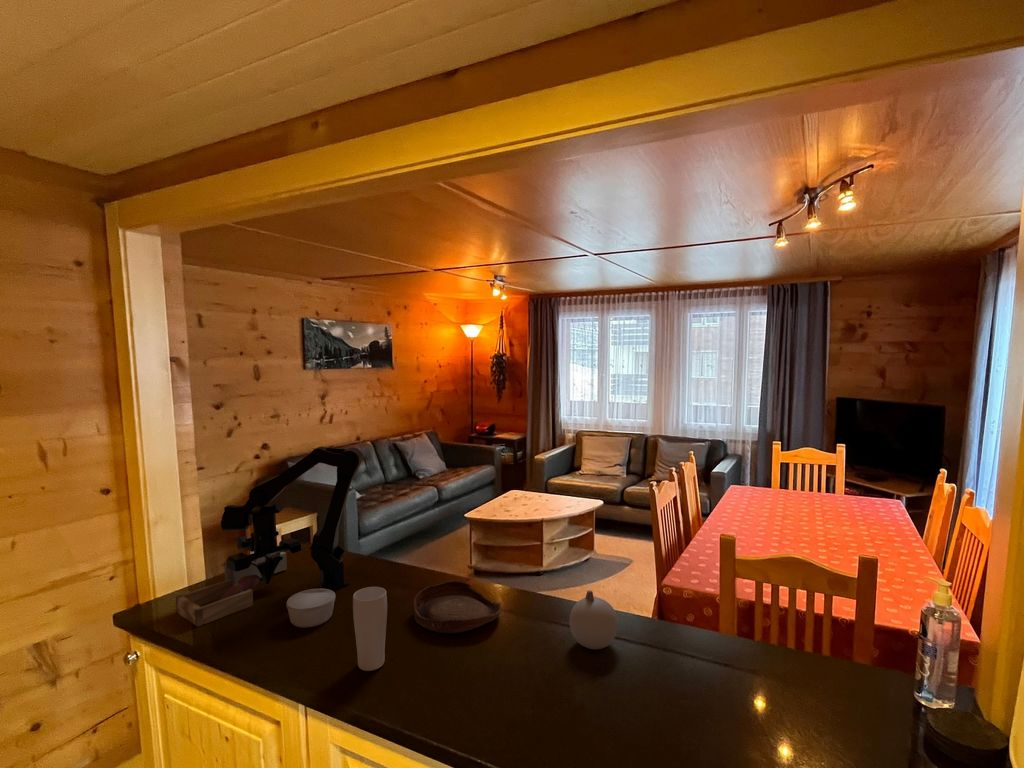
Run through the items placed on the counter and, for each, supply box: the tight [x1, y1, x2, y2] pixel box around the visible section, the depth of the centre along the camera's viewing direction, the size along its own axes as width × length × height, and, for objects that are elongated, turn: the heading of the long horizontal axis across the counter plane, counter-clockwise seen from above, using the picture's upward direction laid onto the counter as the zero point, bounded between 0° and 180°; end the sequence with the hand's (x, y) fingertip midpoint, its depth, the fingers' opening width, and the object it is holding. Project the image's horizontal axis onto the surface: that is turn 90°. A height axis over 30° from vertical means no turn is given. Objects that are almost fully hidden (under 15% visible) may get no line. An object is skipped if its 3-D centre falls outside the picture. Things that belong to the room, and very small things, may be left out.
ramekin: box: [285, 588, 336, 629], centre depth 125 cm, size 11×11×5 cm
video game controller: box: [219, 573, 261, 600], centre depth 137 cm, size 10×5×7 cm, turn 170°
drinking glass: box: [352, 586, 388, 672], centre depth 105 cm, size 7×7×15 cm
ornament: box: [568, 589, 619, 650], centre depth 111 cm, size 10×10×12 cm
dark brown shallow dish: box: [412, 580, 503, 634], centre depth 125 cm, size 22×20×5 cm
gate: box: [223, 551, 288, 586], centre depth 148 cm, size 17×3×6 cm, turn 144°
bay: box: [175, 579, 254, 627], centre depth 131 cm, size 12×13×4 cm
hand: (266, 583), depth 142 cm, fingers closed
